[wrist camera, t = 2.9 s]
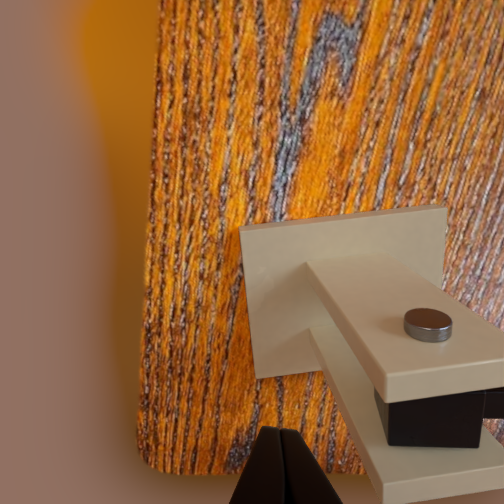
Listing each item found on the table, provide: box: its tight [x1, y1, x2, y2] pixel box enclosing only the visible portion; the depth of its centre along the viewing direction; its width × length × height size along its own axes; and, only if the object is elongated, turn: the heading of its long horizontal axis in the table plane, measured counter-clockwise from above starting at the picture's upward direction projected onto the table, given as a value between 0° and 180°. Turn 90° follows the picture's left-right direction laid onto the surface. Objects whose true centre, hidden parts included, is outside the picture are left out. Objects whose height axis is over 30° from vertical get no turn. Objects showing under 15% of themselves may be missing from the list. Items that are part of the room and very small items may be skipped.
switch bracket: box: [238, 204, 504, 504], centre depth 16 cm, size 11×9×11 cm
